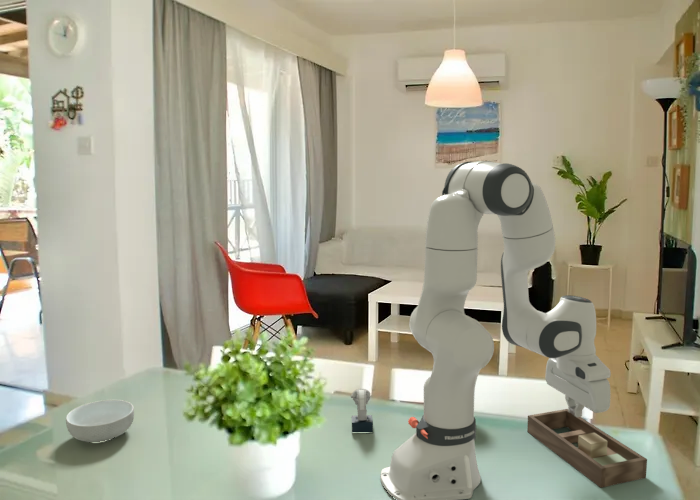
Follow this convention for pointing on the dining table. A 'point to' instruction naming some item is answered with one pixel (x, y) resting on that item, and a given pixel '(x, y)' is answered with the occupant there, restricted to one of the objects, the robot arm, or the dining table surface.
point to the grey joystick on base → (361, 412)
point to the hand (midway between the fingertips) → (575, 414)
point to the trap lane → (600, 470)
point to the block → (592, 445)
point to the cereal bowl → (100, 420)
